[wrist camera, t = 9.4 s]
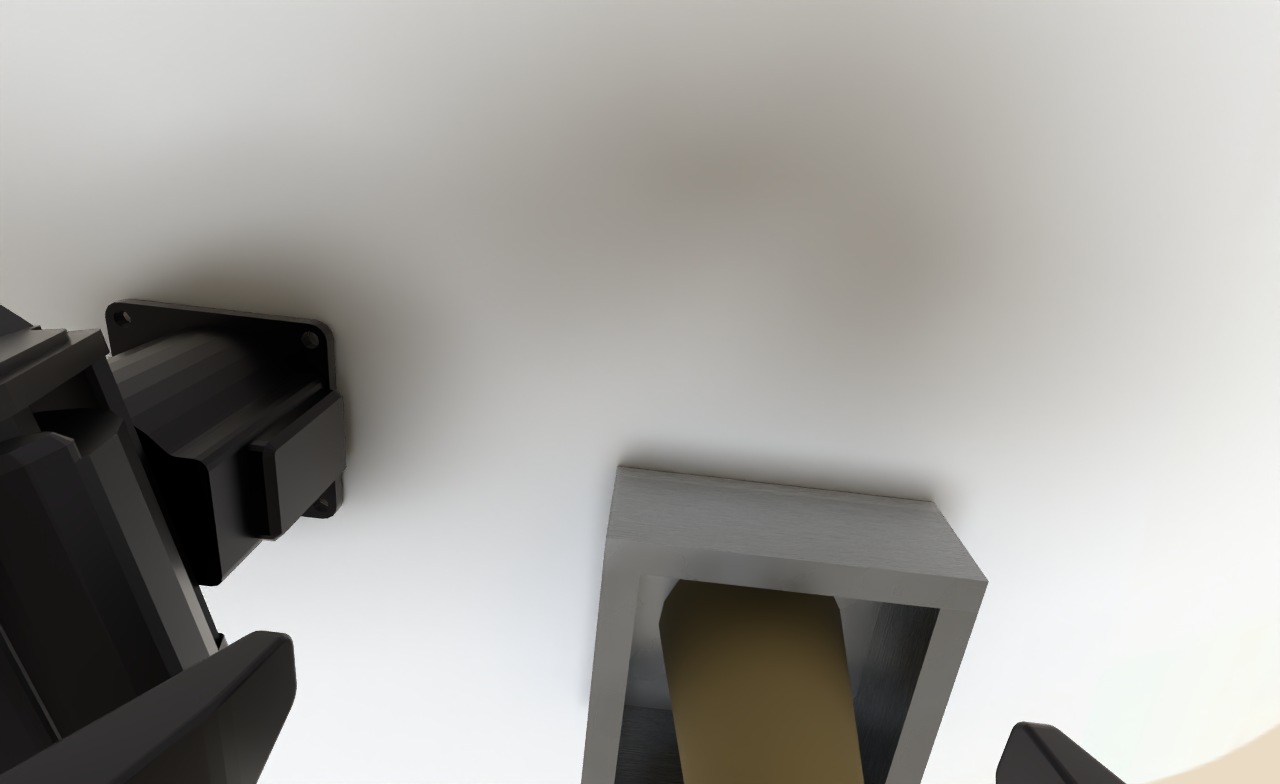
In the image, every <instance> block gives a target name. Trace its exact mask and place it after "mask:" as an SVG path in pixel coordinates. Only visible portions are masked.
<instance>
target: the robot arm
mask: <svg viewBox="0 0 1280 784" xmlns="http://www.w3.org/2000/svg"><path fill="white" fill-rule="evenodd" d="M124 312H126V313H127V314H128V315H129V316H130V318H131V323H129V322H128V321H127V320H126V319H125V317H124ZM105 318H106V324H107V329H108V335H109V341H110V347H111V352H112V357H111V358H109V359H106V356H105V355H107V354H108V353H109V352H110V351H109V349H108V346H107V344H106V341H105V339H104V336H103V334H102V332H101V329H89V330H80V331H71V332H67V330H66V329H50V330H42V329H41V327H40V325H39V326H33V325H32V324H30V323H28V322H27V321H25V320H24V319H22V318H21V317H19V316H17V315H16V314H14V313H13V312H11V311H10V310H8V309H6V308H5V307H3V306H2V305H0V784H257V781H258V779H259V777H260V775H261V773H262V771H263V768H264V766H265V764H266V762H267V760H268V757H269V755H270V753H271V751H272V749H273V747H274V744H275V742H276V740H277V738H278V736H279V734H280V731H281V729H282V727H283V725H284V723H285V721H286V718H287V716H288V714H289V712H290V710H291V707H292V705H293V702H294V699H295V695H296V689H297V681H296V669H295V658H294V646H293V641H292V639H291V637H290V636H289V635H287V634H285V633H278V632H269V631H255V632H252V633H250V634H248V635H246V636H245V637H243V638H241V639H239V640H237V641H236V642H234V643H232V644H230V645H229V646H228V644H227V641H226V639H225V636H224V634H222V633H218V632H217V629H216V627H215V624H214V622H213V619H212V617H211V615H210V612H209V610H208V607H207V605H206V602H205V600H204V597H203V595H202V592H201V590H200V587H199V585H204V586H218V585H219V584H220V583H221V582H222V581H223V580H224V579H225V578H226V577H227V576H228V575H229V574H230V573H231V572H232V571H233V570H234V569H235V568H236V567H237V566H238V565H239V564H240V563H241V562H242V561H243V560H244V559H245V558H246V557H247V556H248V555H249V554H250V553H251V552H252V551H253V550H254V549H255V548H256V547H257V546H258V545H259V544H260V543H261V542H262V541H263V540H268V541H275V540H277V539H278V538H279V537H281V536H282V535H283V534H284V533H285V532H286V531H287V530H288V529H289V528H290V527H291V526H292V525H293V524H294V523H295V522H296V521H297V520H298V519H299V518H300V516H304V517H312V518H321V519H324V518H329V517H332V516H333V515H334V514H335V513H336V512H337V510H338V509H339V508H340V507H341V505H342V487H341V473H342V472H343V471H344V470H345V469H346V449H345V429H344V410H343V397H342V396H341V395H340V393H339V392H338V391H337V390H336V377H335V359H334V341H333V335H332V332H331V330H330V329H329V327H328V326H327V325H325V324H324V323H323V322H320V321H317V320H310V319H301V318H293V317H284V316H275V315H266V314H257V313H248V312H239V311H231V310H222V309H213V308H204V307H195V306H186V305H177V304H169V303H160V302H151V301H142V300H133V299H125V300H121V301H118V302H114V303H112V304H111V305H109V306H108V307H107V309H106V313H105ZM309 332H312V333H314V334H315V335H316V336H317V337H318V340H319V343H318V345H316V344H314V343H312V342H311V341H310V340H309V337H308V333H309ZM319 498H322V499H325V500H326V501H327V502H328V504H329V506H327V505H324V504H322V503H321V502H320V499H319ZM996 784H1126V783H1124V782H1123V781H1122V780H1121V779H1120V778H1118V777H1117V776H1116V775H1115V774H1113V773H1112V772H1111V771H1110V770H1108V769H1107V768H1106V767H1105V766H1103V765H1102V764H1101V763H1100V762H1098V761H1097V760H1096V759H1095V758H1093V757H1092V756H1091V755H1090V754H1089V753H1087V752H1086V751H1085V750H1084V749H1082V748H1081V747H1080V746H1079V745H1077V744H1076V743H1075V742H1074V741H1072V740H1071V739H1070V738H1069V737H1067V736H1066V735H1065V734H1064V733H1063V732H1061V731H1060V730H1059V729H1057V728H1056V727H1054V726H1051V725H1048V724H1040V723H1032V722H1019V723H1017V724H1016V725H1015V726H1014V727H1013V729H1012V731H1011V733H1010V736H1009V739H1008V741H1007V744H1006V746H1005V749H1004V751H1003V754H1002V756H1001V759H1000V761H999V764H998V767H997V771H996Z"/></svg>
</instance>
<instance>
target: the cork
mask: <svg viewBox="0 0 1280 784" xmlns="http://www.w3.org/2000/svg"><path fill="white" fill-rule="evenodd" d="M658 625H659V631H660V638H661V645H662V651H663V657H664V663H665V670H666V676H667V682H668V688H669V694H670V700H671V706H672V712H673V718H674V724H675V730H676V737H677V743H678V749H679V755H680V761H681V767H682V773H683V779H684V784H864V779H863V771H862V764H861V757H860V750H859V743H858V736H857V728H856V721H855V714H854V707H853V700H852V693H851V685H850V678H849V671H848V664H847V657H846V650H845V642H844V635H843V628H842V621H841V614H840V609H839V607H838V605H837V602H836V600H835V598H834V596H826V595H817V594H808V593H800V592H791V591H782V590H773V589H764V588H756V587H747V586H738V585H729V584H721V583H712V582H703V581H694V580H685V579H680V580H678V582H677V583H676V585H675V586H674V588H673V589H672V590H671V592H670V593H669V595H668V596H667V598H666V599H665V601H664V603H663V608H662V612H661V616H660V620H659V624H658Z"/></svg>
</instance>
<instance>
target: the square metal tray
mask: <svg viewBox="0 0 1280 784" xmlns="http://www.w3.org/2000/svg"><path fill="white" fill-rule="evenodd" d="M680 579H685V580H694V581H703V582H712V583H721V584H729V585H738V586H747V587H756V588H764V589H773V590H782V591H791V592H800V593H808V594H817V595H826V596H834V598H835V600H836V602H837V605H838V607H839V609H840V614H841V621H842V628H843V635H844V642H845V650H846V657H847V664H848V671H849V678H850V685H851V693H852V700H853V707H854V714H855V721H856V728H857V736H858V743H859V750H860V757H861V764H862V771H863V779H864V784H920V783H921V780H922V777H923V774H924V771H925V768H926V765H927V762H928V759H929V756H930V753H931V750H932V747H933V744H934V741H935V738H936V735H937V732H938V729H939V726H940V723H941V721H942V718H943V715H944V712H945V709H946V706H947V703H948V700H949V697H950V694H951V691H952V688H953V685H954V682H955V679H956V676H957V673H958V670H959V667H960V664H961V661H962V658H963V656H964V653H965V650H966V647H967V644H968V641H969V638H970V635H971V632H972V629H973V626H974V623H975V620H976V617H977V614H978V611H979V608H980V605H981V602H982V599H983V596H984V593H985V591H986V588H987V585H988V582H989V581H988V580H987V578H986V577H985V576H984V574H983V573H982V571H981V570H980V568H979V567H978V565H977V564H976V563H975V561H974V560H973V558H972V557H971V555H970V554H969V552H968V551H967V550H966V548H965V547H964V545H963V544H962V542H961V541H960V539H959V538H958V537H957V535H956V534H955V532H954V531H953V529H952V528H951V526H950V525H949V524H948V522H947V521H946V519H945V518H944V516H943V515H942V513H941V512H940V511H939V509H938V508H937V506H936V505H935V503H934V502H927V501H918V500H910V499H901V498H892V497H883V496H874V495H866V494H857V493H848V492H839V491H830V490H822V489H813V488H804V487H795V486H786V485H777V484H769V483H760V482H751V481H742V480H733V479H725V478H716V477H707V476H698V475H689V474H680V473H672V472H663V471H654V470H645V469H636V468H628V467H619V466H618V467H617V473H616V479H615V485H614V492H613V498H612V504H611V510H610V516H609V523H608V529H607V535H606V543H605V553H604V563H603V573H602V583H601V593H600V603H599V612H598V622H597V632H596V642H595V652H594V662H593V672H592V681H591V691H590V701H589V711H588V721H587V731H586V741H585V750H584V760H583V770H582V780H581V784H684V779H683V773H682V767H681V761H680V755H679V749H678V743H677V737H676V730H675V724H674V718H673V712H672V706H671V700H670V694H669V688H668V682H667V676H666V670H665V663H664V657H663V651H662V645H661V638H660V631H659V625H658V624H659V620H660V616H661V612H662V608H663V603H664V601H665V599H666V598H667V596H668V595H669V593H670V592H671V590H672V589H673V588H674V586H675V585H676V583H677V582H678V580H680Z"/></svg>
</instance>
